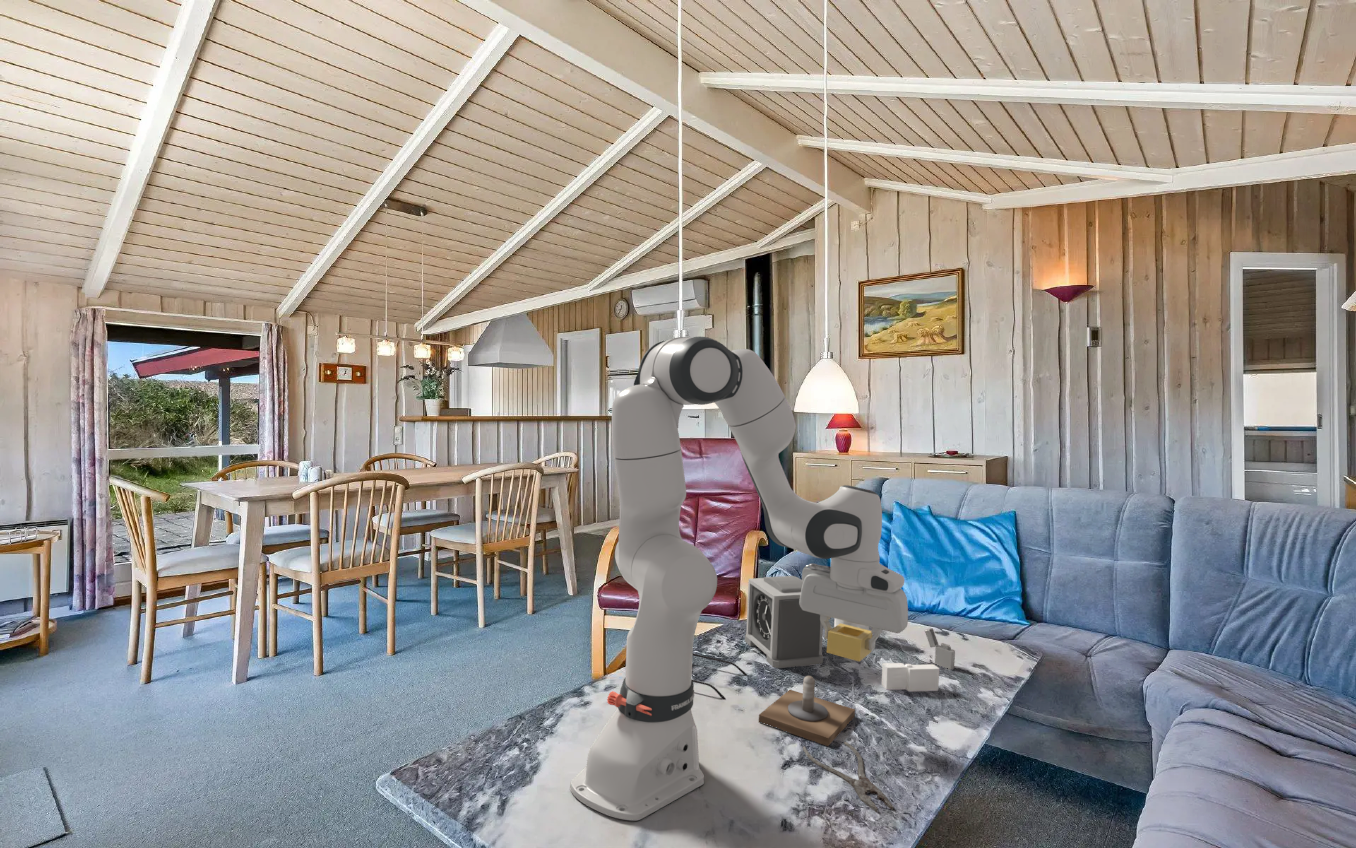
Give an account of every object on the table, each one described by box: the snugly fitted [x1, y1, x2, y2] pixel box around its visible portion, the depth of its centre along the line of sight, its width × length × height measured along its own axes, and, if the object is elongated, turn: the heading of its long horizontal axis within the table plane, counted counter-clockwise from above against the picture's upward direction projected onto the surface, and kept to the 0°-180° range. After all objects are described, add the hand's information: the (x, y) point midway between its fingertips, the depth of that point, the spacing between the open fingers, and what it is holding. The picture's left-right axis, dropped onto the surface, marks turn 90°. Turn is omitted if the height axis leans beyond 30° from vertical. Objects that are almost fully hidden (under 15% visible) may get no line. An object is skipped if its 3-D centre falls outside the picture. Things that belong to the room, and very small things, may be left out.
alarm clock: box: [744, 575, 824, 669], centre depth 162 cm, size 18×13×18 cm
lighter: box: [924, 627, 956, 670], centre depth 158 cm, size 7×2×8 cm, turn 42°
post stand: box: [758, 675, 856, 747], centre depth 128 cm, size 14×14×9 cm
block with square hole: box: [826, 623, 874, 663], centre depth 125 cm, size 6×6×4 cm
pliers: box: [802, 741, 894, 813], centre depth 110 cm, size 10×1×20 cm
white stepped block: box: [881, 662, 940, 692], centre depth 145 cm, size 15×11×6 cm
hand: (849, 644), depth 125 cm, fingers closed on block with square hole, 6 cm apart
